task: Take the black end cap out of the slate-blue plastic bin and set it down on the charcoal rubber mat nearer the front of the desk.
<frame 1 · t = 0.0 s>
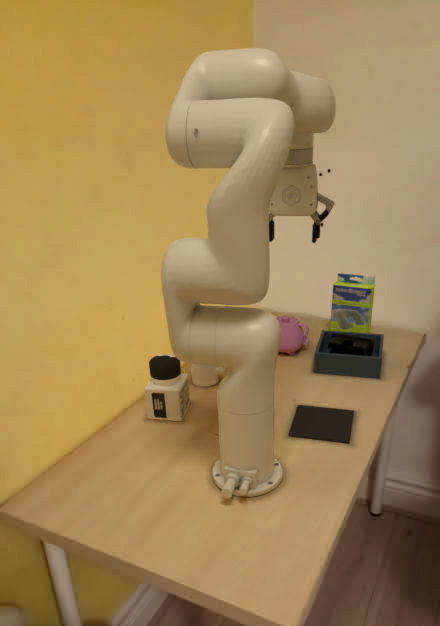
hand: (292, 241, 120), 31 cm above the table, tool pointing down, fingers open, 9 cm apart
teapot: (281, 349, 145), on the table
mug: (211, 382, 130), on the table
container: (169, 412, 119), on the table
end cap: (348, 362, 136), resting in bin
bin: (348, 362, 136), on the table
box: (349, 338, 149), on the table
mat: (322, 424, 111), on the table
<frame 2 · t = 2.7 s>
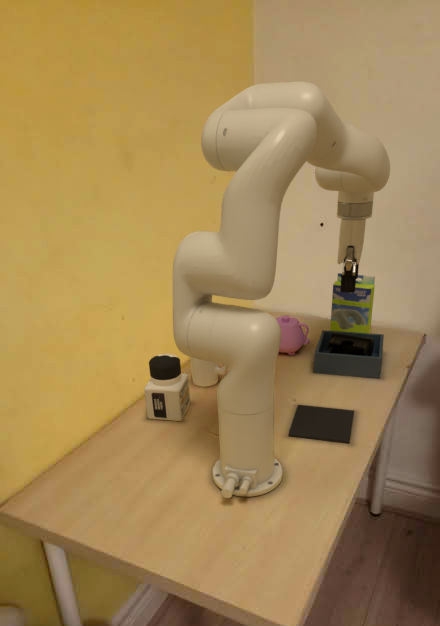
hand: (349, 285, 126), 20 cm above the table, tool pointing down, fingers open, 9 cm apart
nothing on the table moved.
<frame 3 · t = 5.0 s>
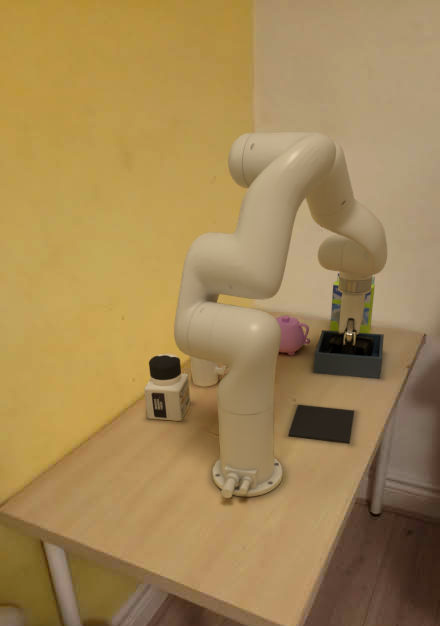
hand: (349, 351, 134), 3 cm above the table, tool pointing down, fingers closed on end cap, 8 cm apart
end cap: (348, 362, 136), resting in bin, touching gripper
everything else where it was.
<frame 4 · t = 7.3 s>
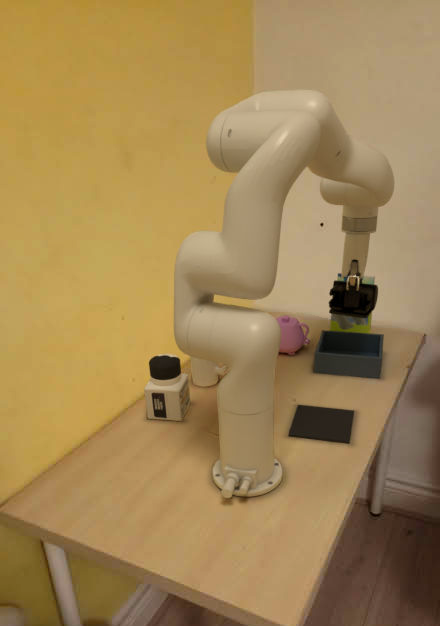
hand: (352, 300, 127), 17 cm above the table, tool pointing down, fingers closed on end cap, 8 cm apart
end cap: (351, 312, 128), point 14 cm above the table, touching gripper
everything else where it was.
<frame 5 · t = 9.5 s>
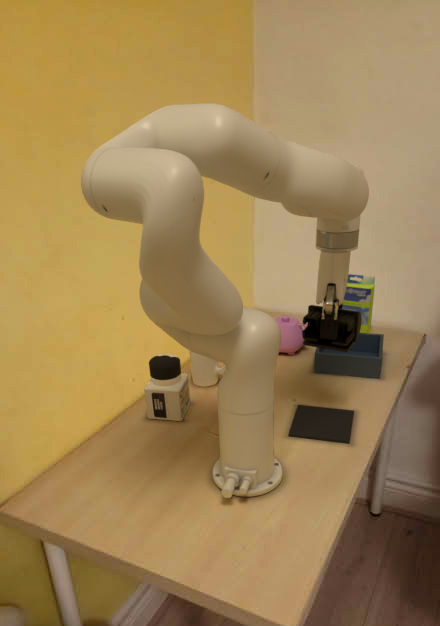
hand: (330, 329, 105), 19 cm above the table, tool pointing down, fingers closed on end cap, 8 cm apart
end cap: (330, 343, 107), point 17 cm above the table, touching gripper
everything else where it was.
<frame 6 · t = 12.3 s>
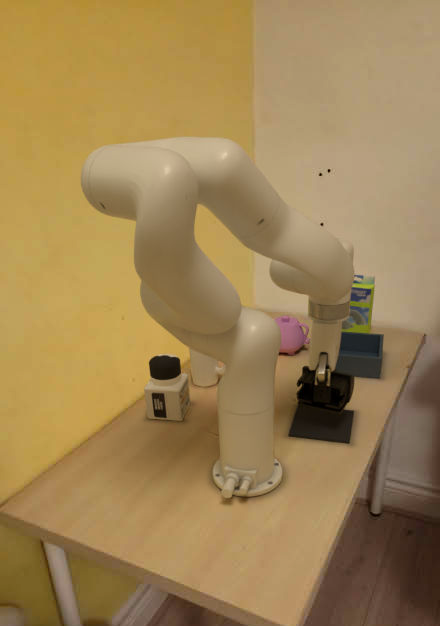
hand: (324, 390, 108), 8 cm above the table, tool pointing down, fingers closed on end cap, 8 cm apart
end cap: (323, 402, 109), point 5 cm above the table, touching gripper
everything else where it was.
when the fingers open (3 cm above the table, at t = 14.2 s): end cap stays where it is, resting on mat.
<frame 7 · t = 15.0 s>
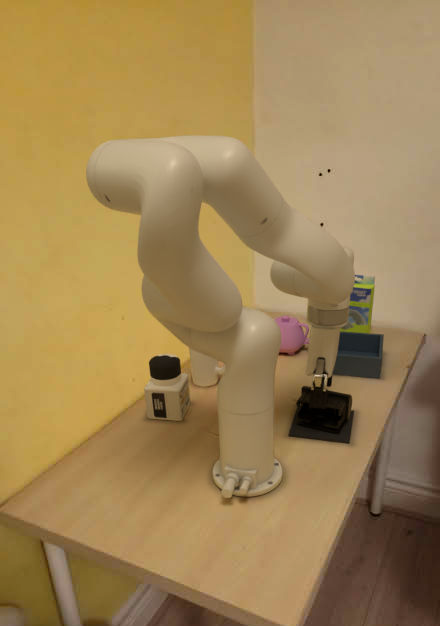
hand: (320, 396, 107), 7 cm above the table, tool pointing down, fingers open, 9 cm apart
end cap: (322, 422, 111), resting on mat
everything else where it was.
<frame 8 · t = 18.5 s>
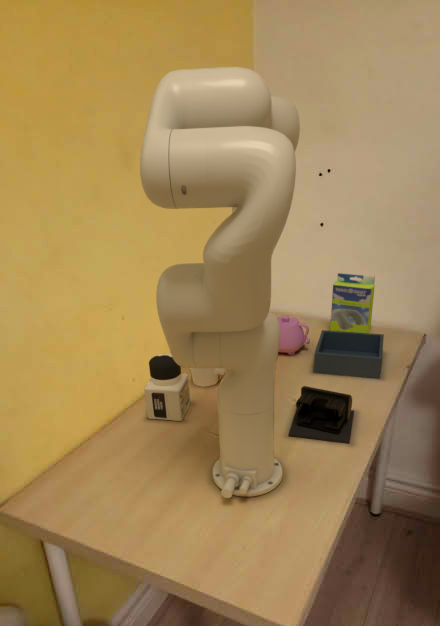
hand: (251, 272, 111), 28 cm above the table, tool pointing down, fingers open, 9 cm apart
nothing on the table moved.
at the end: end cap inside the target area on the mat (0.1 cm from its centre), point 0.3 cm above the mat's base; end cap touching mat; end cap tilted 0° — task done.
